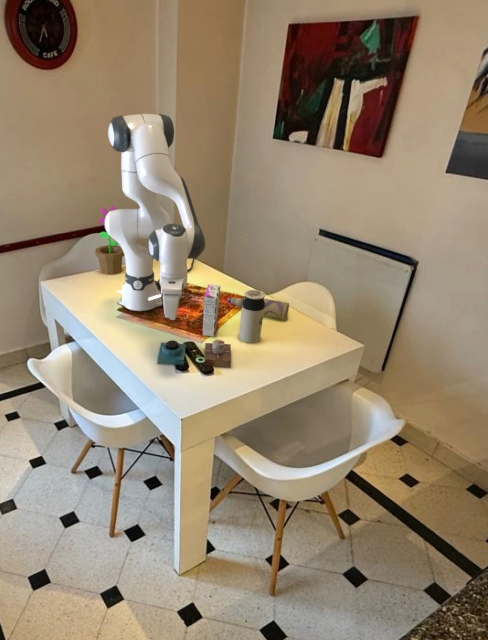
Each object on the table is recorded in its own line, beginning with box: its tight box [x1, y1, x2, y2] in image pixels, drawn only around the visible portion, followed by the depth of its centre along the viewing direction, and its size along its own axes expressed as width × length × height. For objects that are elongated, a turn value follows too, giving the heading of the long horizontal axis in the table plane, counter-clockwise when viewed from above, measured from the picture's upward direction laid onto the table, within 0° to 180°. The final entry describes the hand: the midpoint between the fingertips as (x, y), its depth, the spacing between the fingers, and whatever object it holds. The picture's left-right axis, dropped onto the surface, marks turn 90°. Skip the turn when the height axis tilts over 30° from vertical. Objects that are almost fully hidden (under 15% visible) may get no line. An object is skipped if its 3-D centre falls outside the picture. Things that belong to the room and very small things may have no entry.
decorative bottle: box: [226, 297, 290, 320], centre depth 190 cm, size 26×8×7 cm, turn 63°
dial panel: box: [203, 342, 232, 369], centre depth 161 cm, size 11×9×3 cm
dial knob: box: [212, 339, 226, 354], centre depth 159 cm, size 4×4×4 cm
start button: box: [166, 339, 179, 350], centre depth 160 cm, size 4×4×2 cm
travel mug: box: [238, 289, 266, 344], centre depth 169 cm, size 8×8×18 cm
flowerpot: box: [94, 204, 125, 275], centre depth 219 cm, size 14×14×30 cm
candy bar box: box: [201, 284, 221, 338], centre depth 174 cm, size 11×5×16 cm, turn 168°
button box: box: [157, 341, 187, 366], centre depth 162 cm, size 11×9×4 cm
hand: (172, 317), depth 154 cm, fingers closed
